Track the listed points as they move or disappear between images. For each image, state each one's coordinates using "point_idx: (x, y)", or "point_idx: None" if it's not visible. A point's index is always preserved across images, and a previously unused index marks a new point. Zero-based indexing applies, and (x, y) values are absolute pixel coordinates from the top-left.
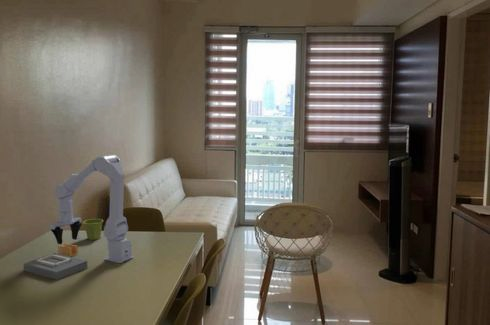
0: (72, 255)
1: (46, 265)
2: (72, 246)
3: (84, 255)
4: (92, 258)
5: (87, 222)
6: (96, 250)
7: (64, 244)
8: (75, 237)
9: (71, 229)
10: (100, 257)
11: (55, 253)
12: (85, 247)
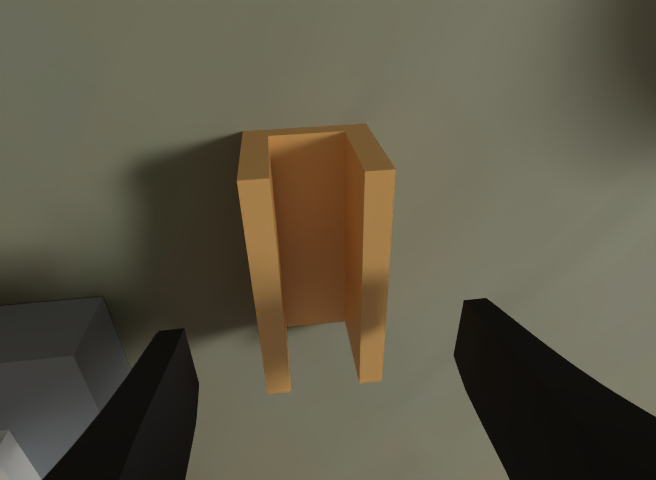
0: (294, 320)
1: None
2: (357, 324)
3: None
4: (342, 454)
5: None
6: None
7: (361, 173)
8: (468, 386)
9: (579, 436)
10: (385, 469)
11: (76, 368)
12: (571, 191)
